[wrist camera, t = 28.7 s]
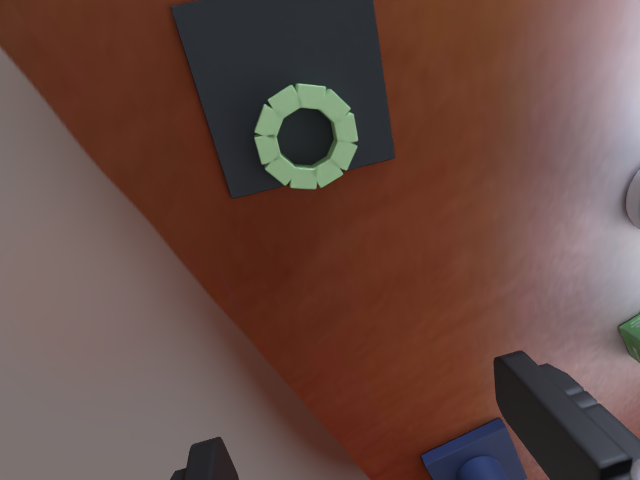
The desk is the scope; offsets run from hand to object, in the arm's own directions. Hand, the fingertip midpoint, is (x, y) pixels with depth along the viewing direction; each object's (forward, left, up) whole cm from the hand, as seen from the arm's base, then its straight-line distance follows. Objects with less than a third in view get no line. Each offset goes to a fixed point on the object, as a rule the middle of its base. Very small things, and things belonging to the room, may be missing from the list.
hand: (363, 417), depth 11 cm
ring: (+2, +5, -19) cm, 20 cm away
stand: (+11, -32, -19) cm, 39 cm away
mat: (+2, +8, -19) cm, 21 cm away
